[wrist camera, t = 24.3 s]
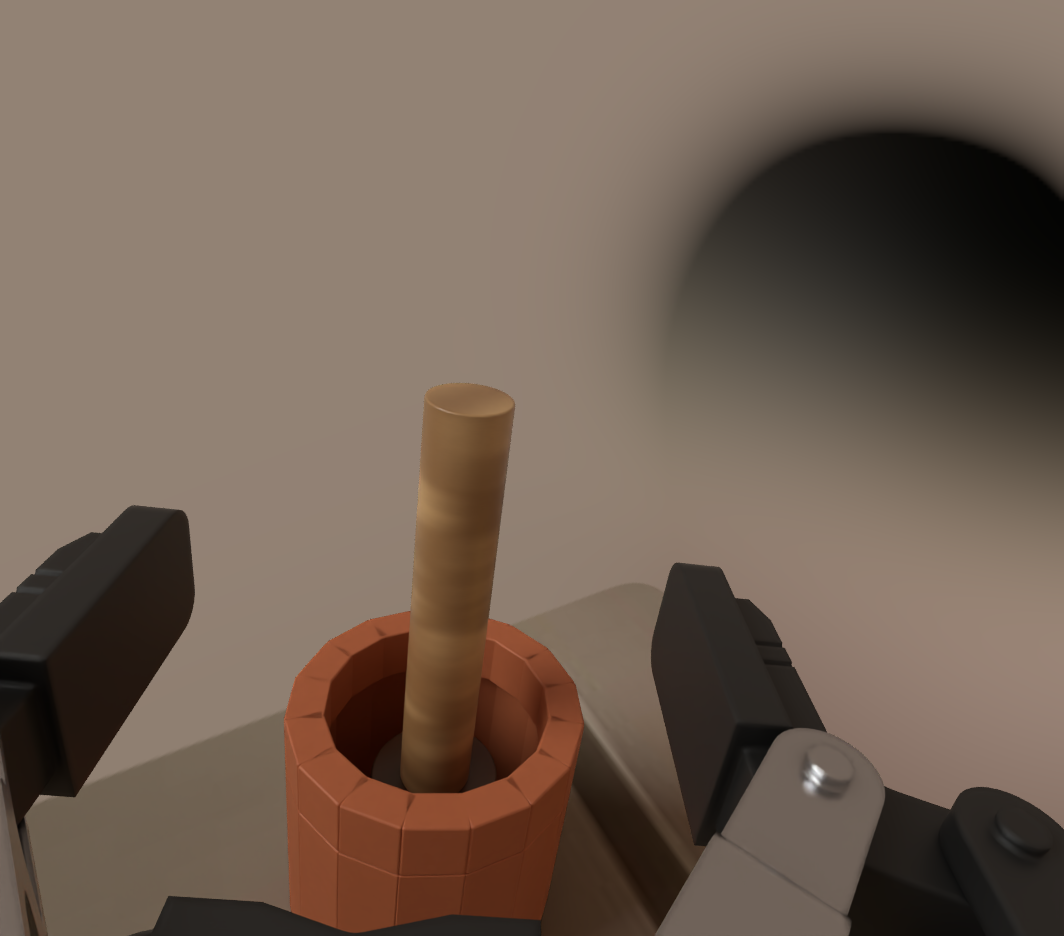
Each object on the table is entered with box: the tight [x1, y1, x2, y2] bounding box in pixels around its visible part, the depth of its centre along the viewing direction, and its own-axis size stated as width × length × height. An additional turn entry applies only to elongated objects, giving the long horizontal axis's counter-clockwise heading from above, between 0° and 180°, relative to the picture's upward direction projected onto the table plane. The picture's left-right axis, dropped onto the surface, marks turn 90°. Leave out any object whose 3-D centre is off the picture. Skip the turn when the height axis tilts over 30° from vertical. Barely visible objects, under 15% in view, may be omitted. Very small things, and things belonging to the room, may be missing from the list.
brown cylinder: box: [370, 383, 515, 793], centre depth 23 cm, size 4×4×20 cm
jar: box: [284, 611, 584, 933], centre depth 26 cm, size 10×10×10 cm
